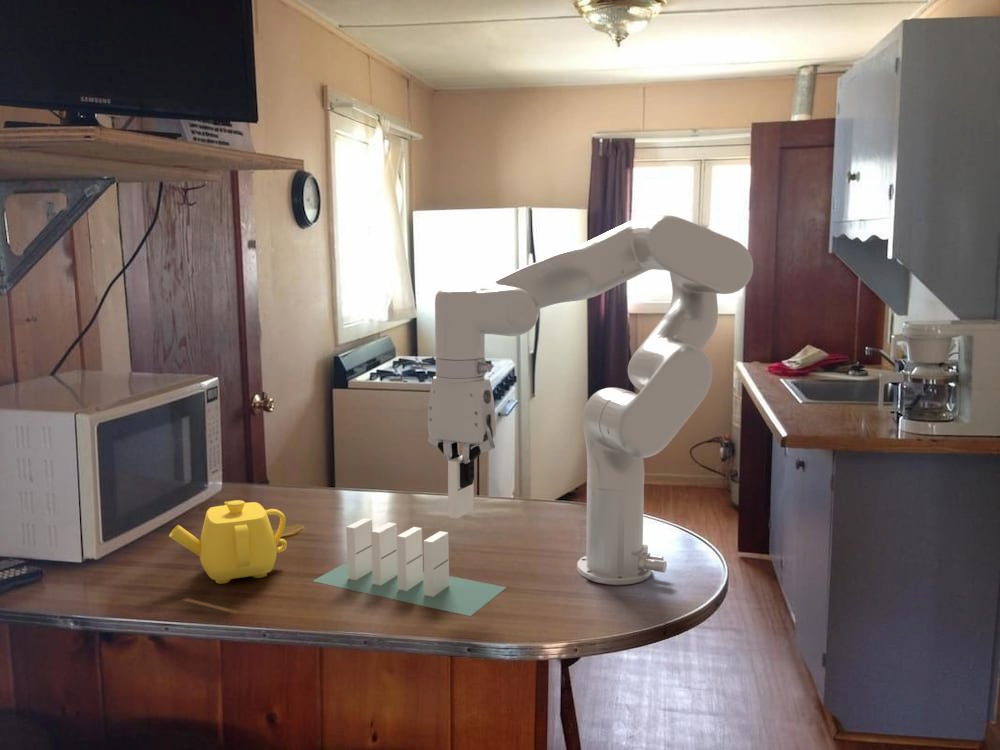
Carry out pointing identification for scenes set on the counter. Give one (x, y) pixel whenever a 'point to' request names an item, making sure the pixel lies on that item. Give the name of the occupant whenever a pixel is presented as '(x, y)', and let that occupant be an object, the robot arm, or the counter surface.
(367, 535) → the domino
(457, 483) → the domino
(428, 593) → the domino
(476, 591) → the runner mat
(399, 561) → the domino
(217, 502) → the counter surface
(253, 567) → the teapot
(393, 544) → the domino
